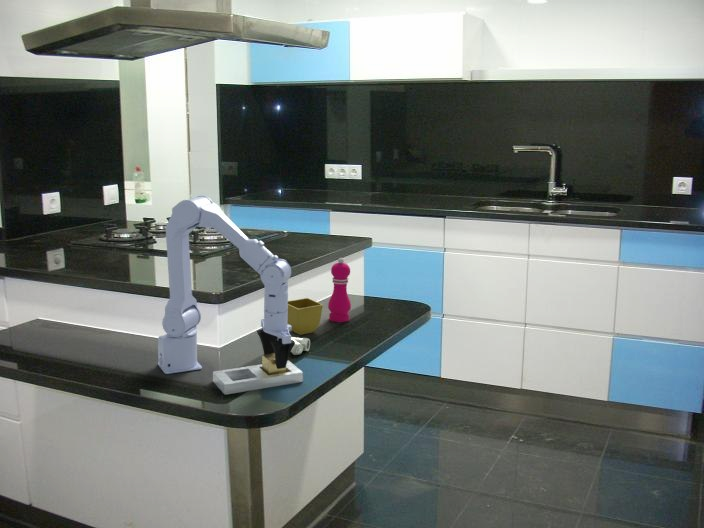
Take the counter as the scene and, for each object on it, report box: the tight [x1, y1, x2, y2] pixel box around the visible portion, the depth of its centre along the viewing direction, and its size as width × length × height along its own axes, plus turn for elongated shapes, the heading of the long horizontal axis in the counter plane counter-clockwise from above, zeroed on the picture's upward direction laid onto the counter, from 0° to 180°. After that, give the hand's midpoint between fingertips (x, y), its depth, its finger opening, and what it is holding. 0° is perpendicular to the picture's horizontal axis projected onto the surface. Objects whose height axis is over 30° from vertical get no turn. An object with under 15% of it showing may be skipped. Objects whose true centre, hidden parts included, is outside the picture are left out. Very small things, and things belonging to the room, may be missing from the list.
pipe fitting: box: [290, 336, 311, 356], centre depth 201 cm, size 8×4×7 cm
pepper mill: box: [327, 257, 352, 323], centre depth 229 cm, size 7×7×20 cm
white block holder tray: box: [212, 359, 304, 395], centre depth 178 cm, size 20×9×2 cm, turn 118°
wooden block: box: [261, 353, 286, 375], centre depth 180 cm, size 4×4×6 cm
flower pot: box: [287, 297, 324, 336], centre depth 216 cm, size 9×9×9 cm
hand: (275, 362), depth 180 cm, fingers open, 7 cm apart
